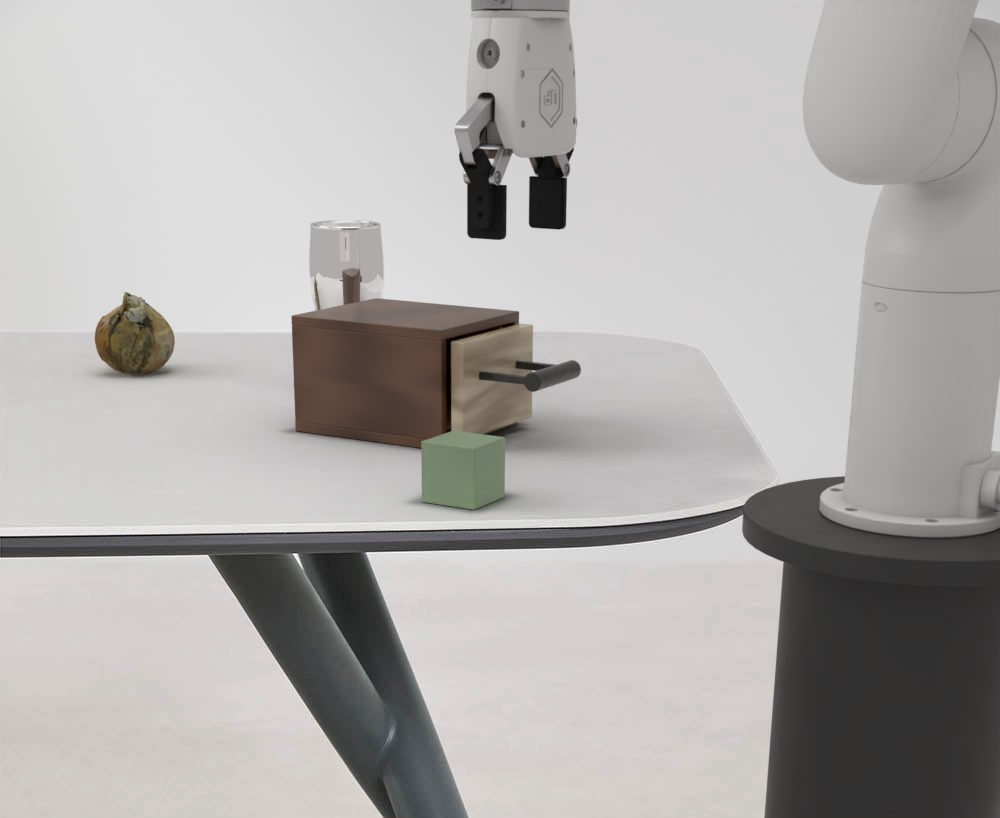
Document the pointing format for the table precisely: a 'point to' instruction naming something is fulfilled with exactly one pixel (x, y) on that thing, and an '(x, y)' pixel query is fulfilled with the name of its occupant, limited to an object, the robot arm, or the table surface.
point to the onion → (134, 337)
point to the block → (463, 469)
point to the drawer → (496, 378)
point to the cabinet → (380, 367)
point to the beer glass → (345, 262)
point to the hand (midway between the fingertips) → (517, 233)
